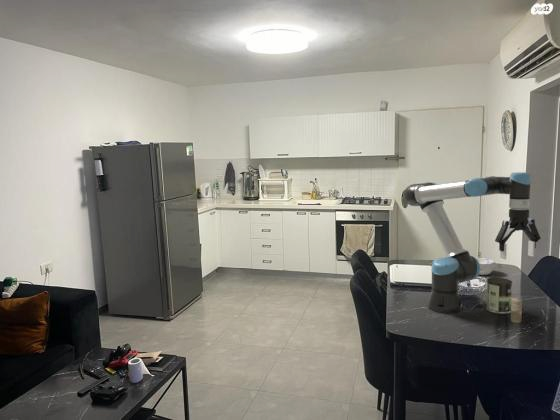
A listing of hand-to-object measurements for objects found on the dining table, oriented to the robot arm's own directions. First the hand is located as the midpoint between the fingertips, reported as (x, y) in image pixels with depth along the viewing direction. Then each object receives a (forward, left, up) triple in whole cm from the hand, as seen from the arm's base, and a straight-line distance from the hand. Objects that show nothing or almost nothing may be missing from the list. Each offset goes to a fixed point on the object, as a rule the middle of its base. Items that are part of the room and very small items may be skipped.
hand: (517, 257), depth 178 cm
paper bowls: (+31, +66, -28) cm, 78 cm away
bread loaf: (-2, -3, -28) cm, 28 cm away
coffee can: (0, +11, -28) cm, 30 cm away
